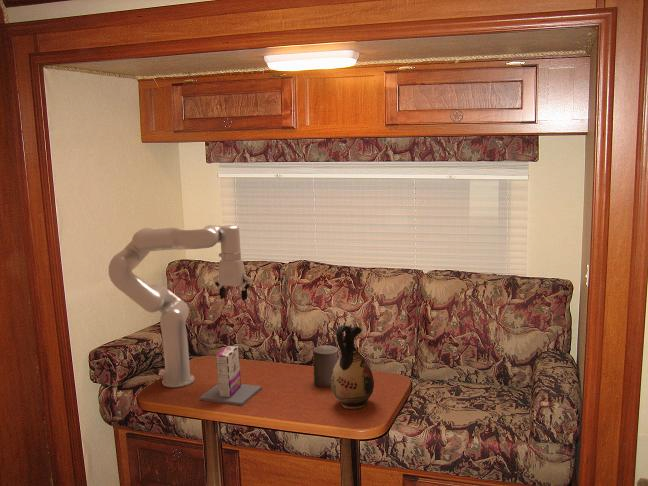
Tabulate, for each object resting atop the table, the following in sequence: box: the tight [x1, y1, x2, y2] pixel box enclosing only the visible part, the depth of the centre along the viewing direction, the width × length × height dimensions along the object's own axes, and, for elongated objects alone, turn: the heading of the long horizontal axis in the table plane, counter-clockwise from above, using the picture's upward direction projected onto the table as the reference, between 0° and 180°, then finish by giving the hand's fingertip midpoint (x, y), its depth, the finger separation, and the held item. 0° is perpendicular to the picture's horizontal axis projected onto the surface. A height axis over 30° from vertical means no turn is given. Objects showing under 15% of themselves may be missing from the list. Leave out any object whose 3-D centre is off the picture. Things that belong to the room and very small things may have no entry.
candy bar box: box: [215, 345, 242, 397], centre depth 232 cm, size 11×5×16 cm, turn 167°
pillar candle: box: [312, 345, 339, 388], centre depth 240 cm, size 10×10×15 cm
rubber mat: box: [198, 383, 263, 406], centre depth 233 cm, size 18×16×1 cm
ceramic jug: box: [330, 324, 375, 409], centre depth 218 cm, size 17×15×30 cm
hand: (233, 298), depth 243 cm, fingers open, 9 cm apart
